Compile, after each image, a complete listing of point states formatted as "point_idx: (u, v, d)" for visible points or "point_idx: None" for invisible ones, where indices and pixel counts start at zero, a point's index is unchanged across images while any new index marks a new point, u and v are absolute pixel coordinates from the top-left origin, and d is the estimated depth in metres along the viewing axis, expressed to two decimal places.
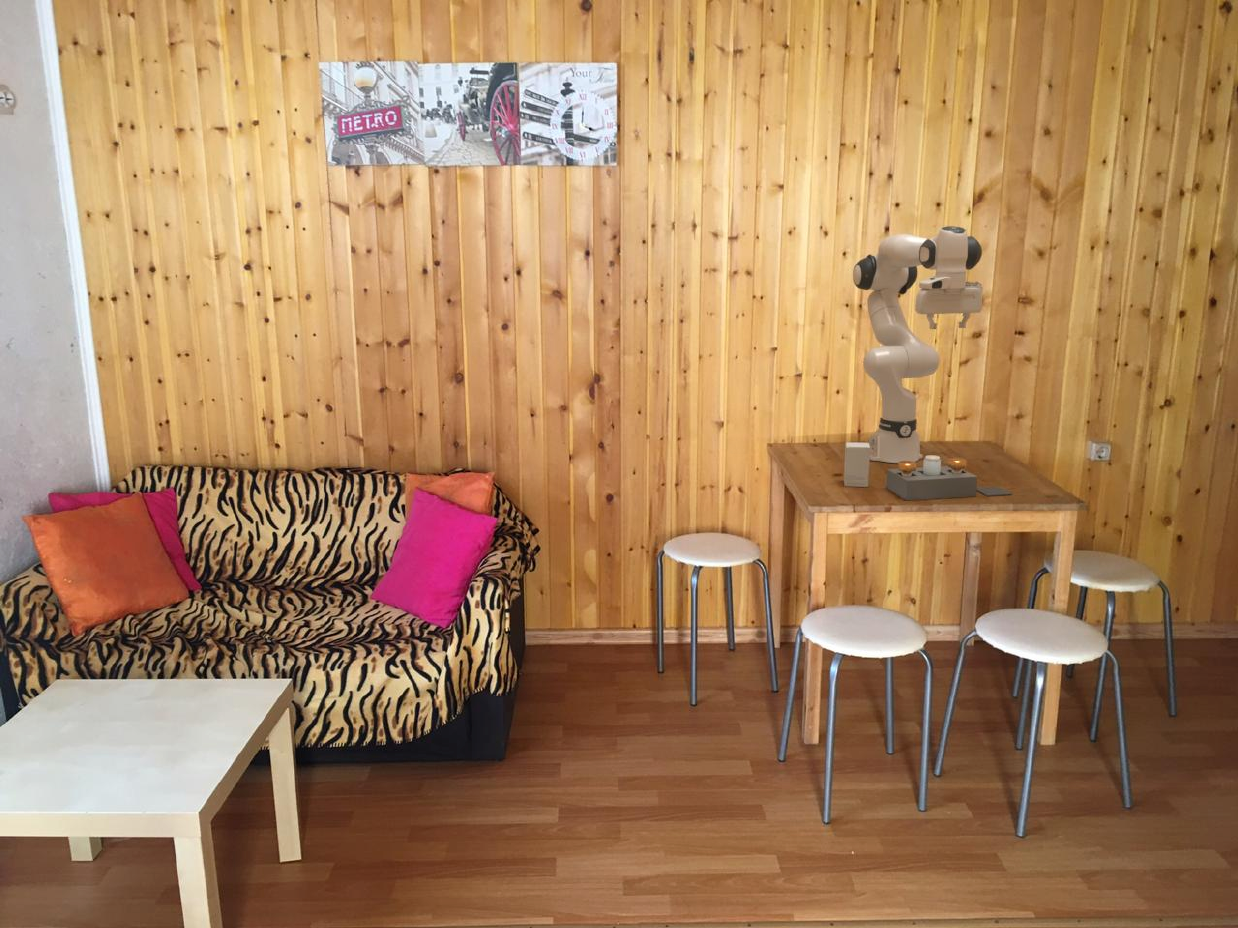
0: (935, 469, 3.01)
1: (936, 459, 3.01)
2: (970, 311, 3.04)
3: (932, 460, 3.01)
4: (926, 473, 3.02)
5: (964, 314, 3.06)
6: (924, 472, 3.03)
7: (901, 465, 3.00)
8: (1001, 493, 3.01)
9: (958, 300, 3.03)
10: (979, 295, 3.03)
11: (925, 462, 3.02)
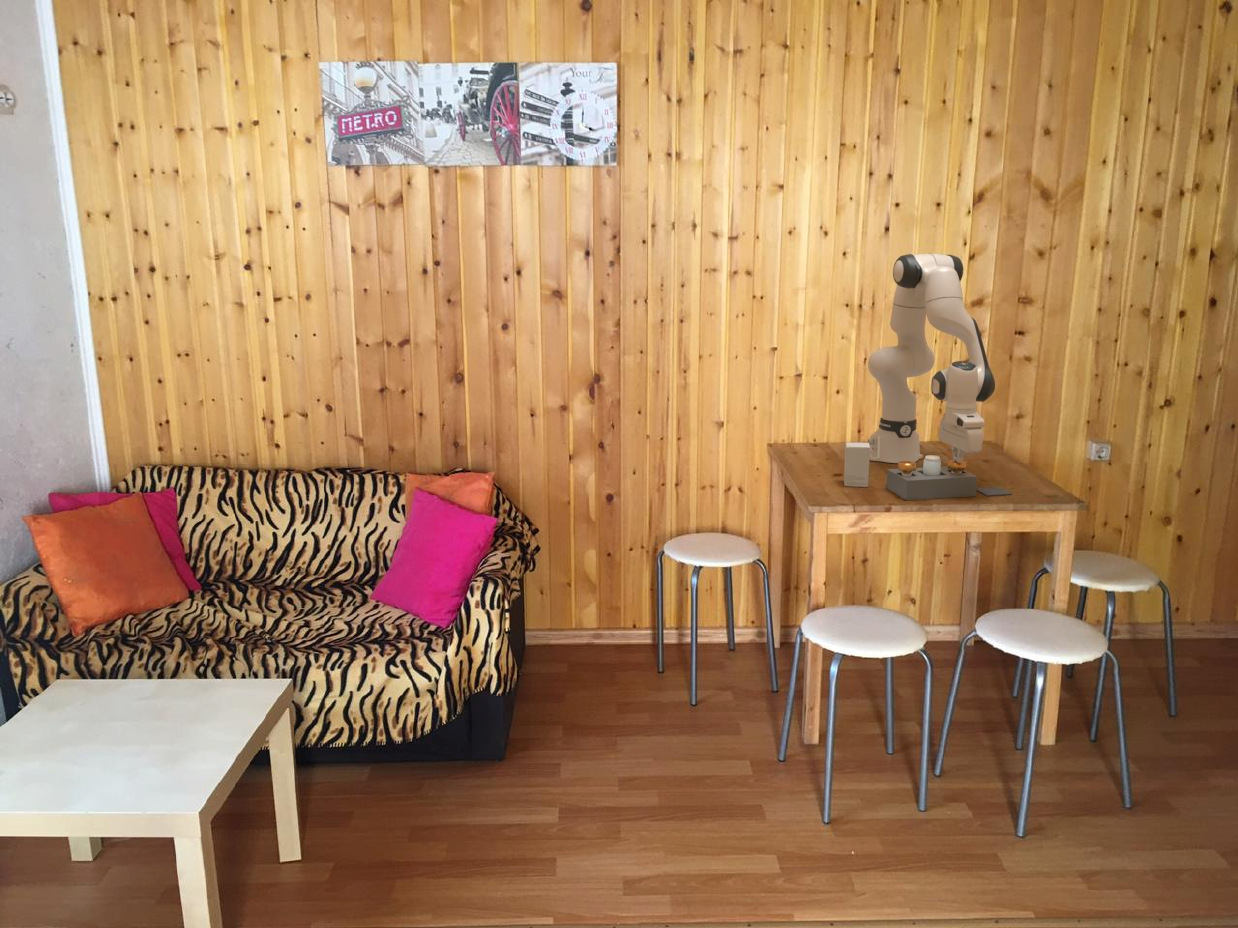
0: (935, 469, 3.01)
1: (936, 459, 3.01)
2: None
3: (932, 460, 3.01)
4: (926, 473, 3.02)
5: (957, 447, 3.04)
6: (924, 472, 3.03)
7: (901, 465, 3.00)
8: (1001, 493, 3.01)
9: None
10: None
11: (925, 462, 3.02)
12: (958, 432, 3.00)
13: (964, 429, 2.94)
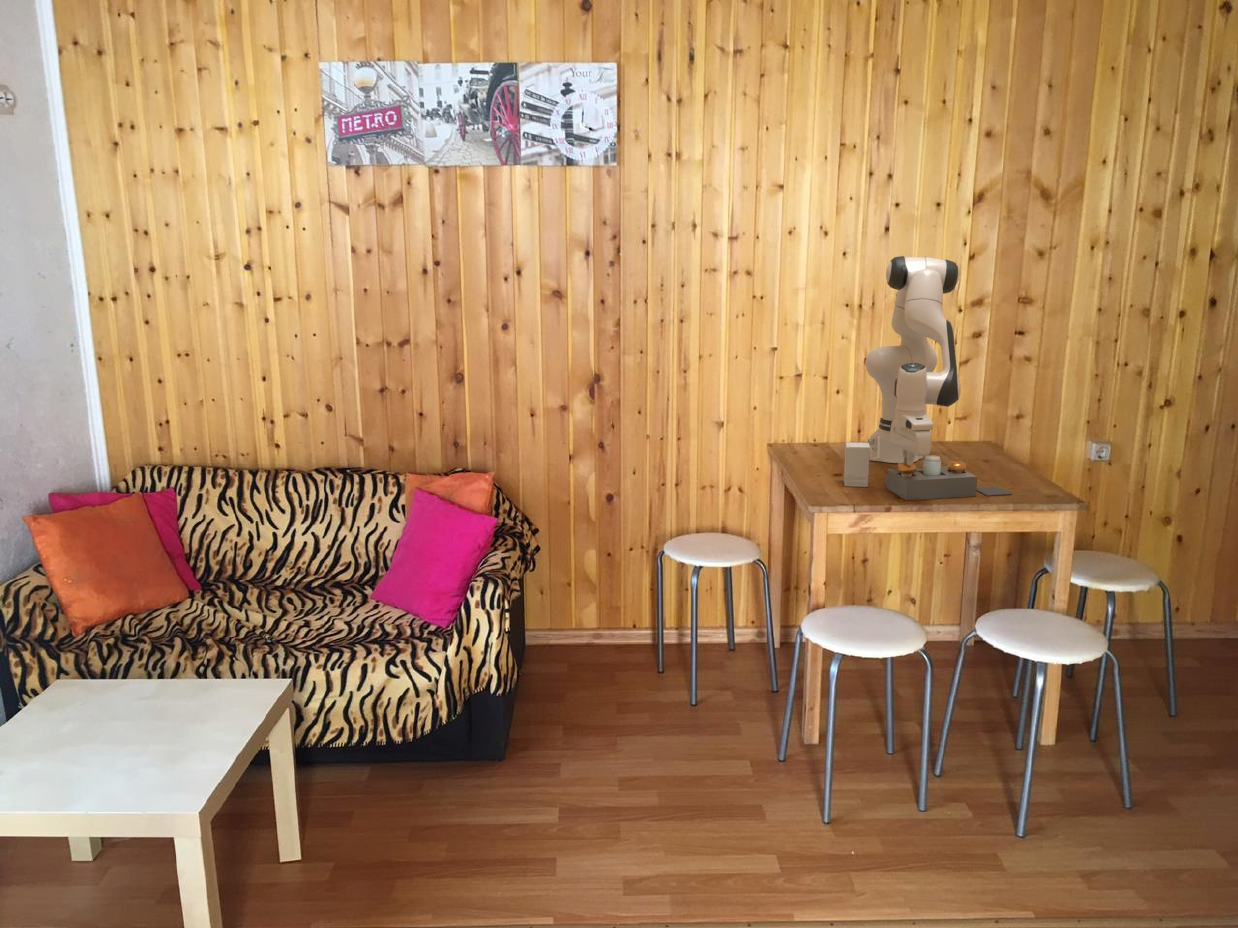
0: (935, 469, 3.01)
1: (936, 459, 3.01)
2: None
3: (932, 460, 3.01)
4: (926, 473, 3.02)
5: None
6: (924, 472, 3.03)
7: (901, 467, 3.00)
8: (1001, 493, 3.01)
9: None
10: None
11: (925, 462, 3.02)
12: (908, 434, 2.97)
13: (913, 431, 2.91)
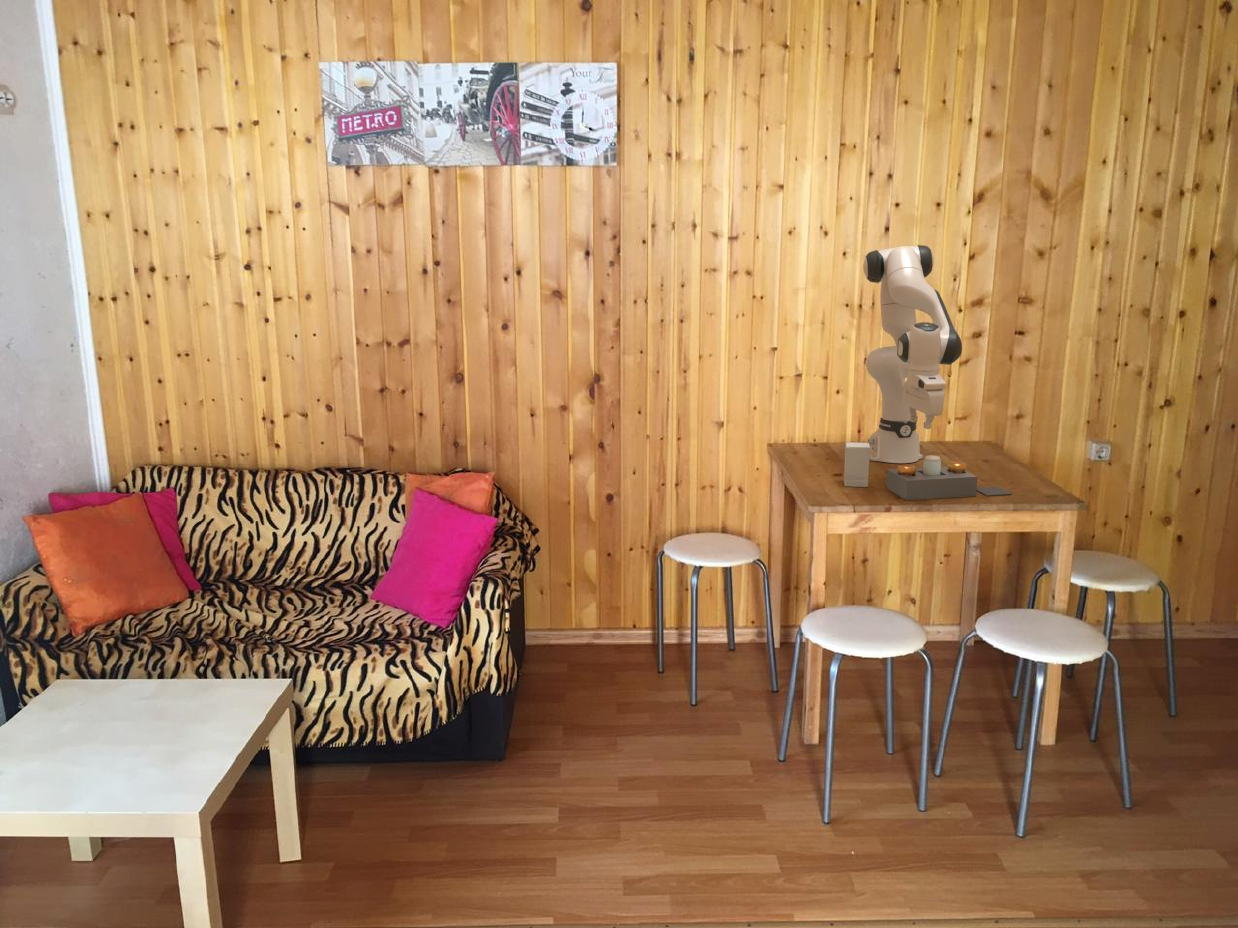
0: (935, 469, 3.01)
1: (936, 459, 3.01)
2: None
3: (932, 460, 3.01)
4: (926, 473, 3.02)
5: None
6: (924, 472, 3.03)
7: (901, 468, 3.01)
8: (1001, 493, 3.01)
9: None
10: None
11: (925, 462, 3.02)
12: (920, 394, 2.95)
13: (925, 391, 2.89)
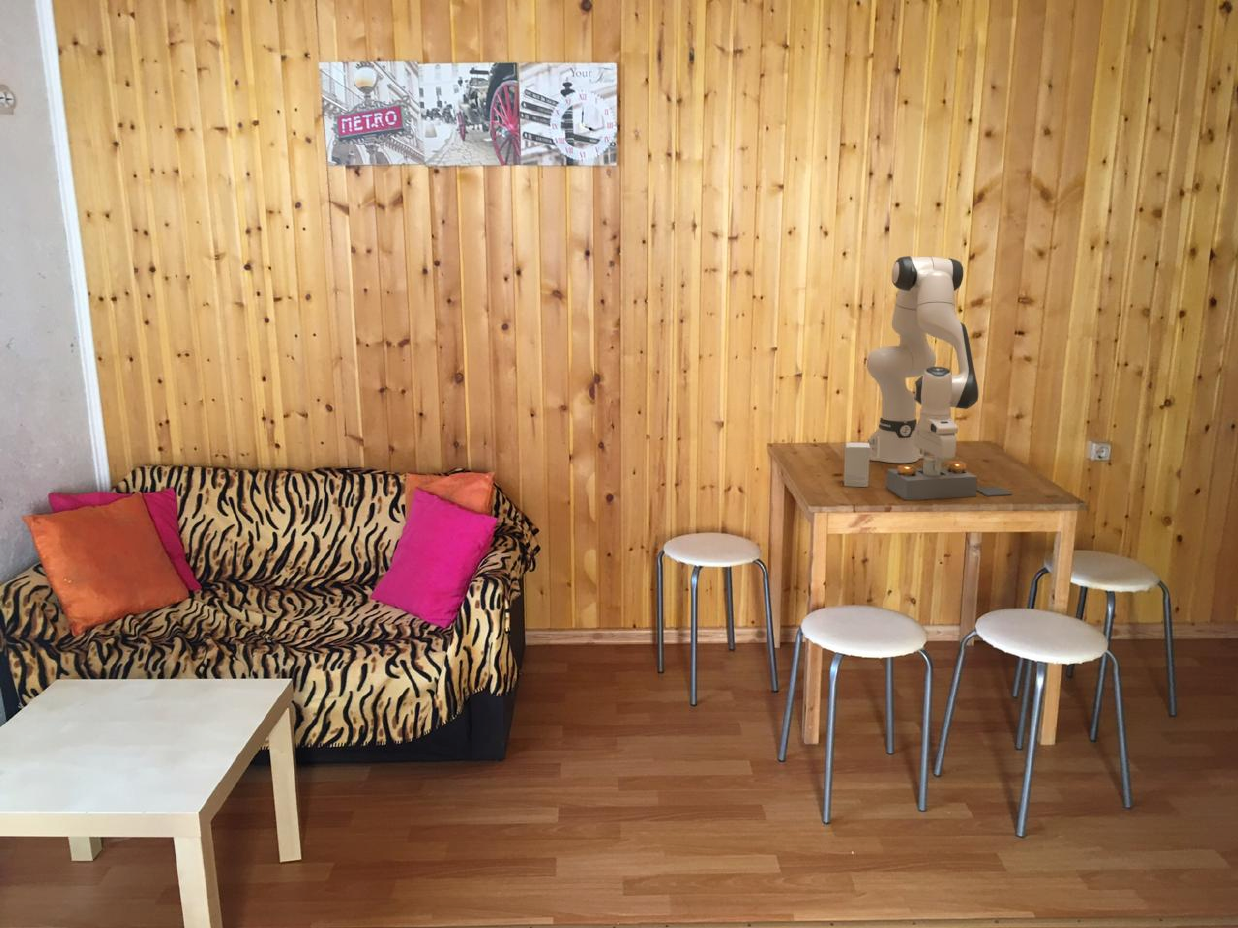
0: None
1: None
2: None
3: (932, 460, 3.01)
4: (926, 473, 3.02)
5: (927, 451, 3.06)
6: (924, 472, 3.03)
7: (901, 468, 3.01)
8: (1001, 493, 3.01)
9: None
10: None
11: (925, 462, 3.02)
12: (932, 438, 2.99)
13: (937, 435, 2.93)
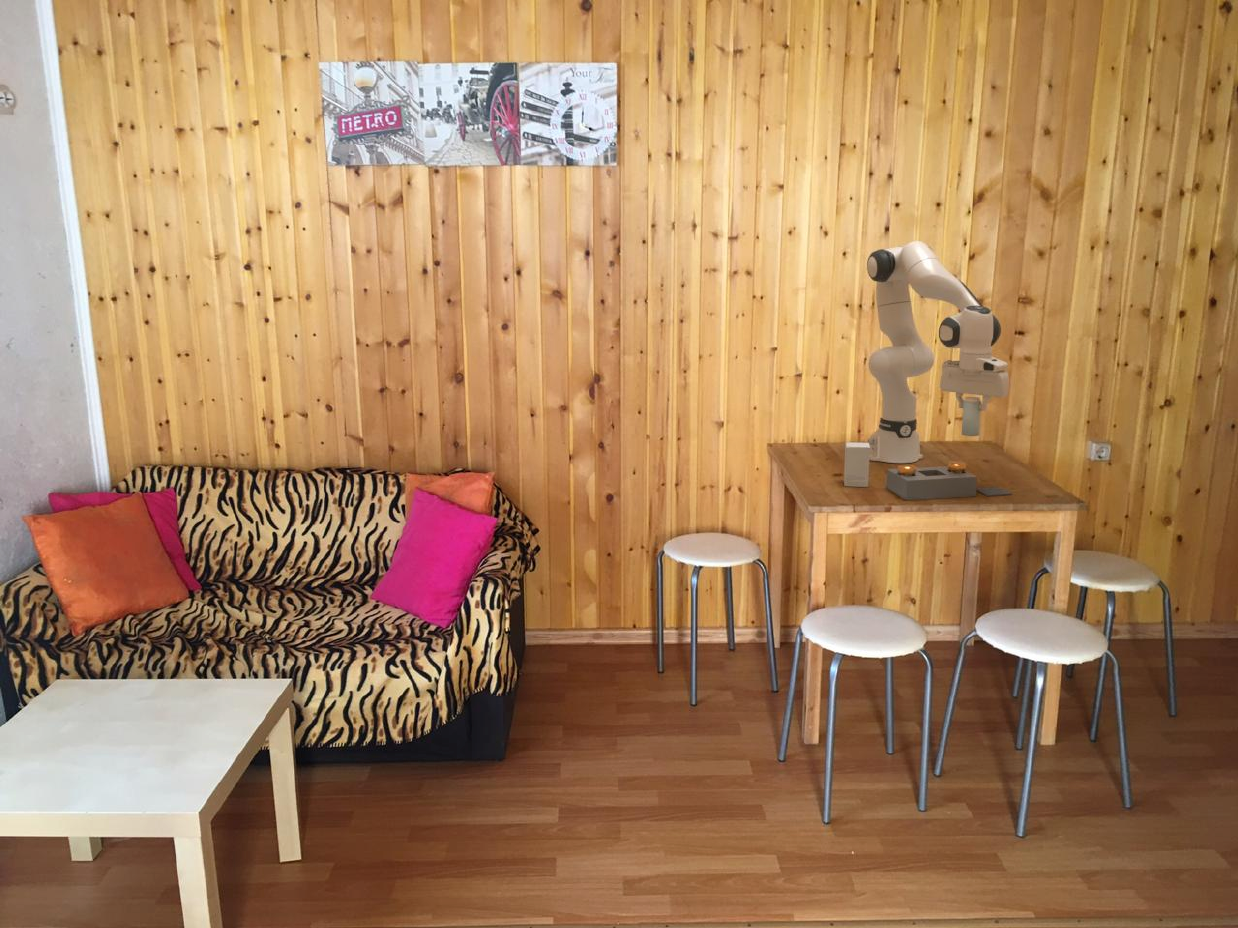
0: (979, 410, 2.96)
1: (979, 399, 2.96)
2: None
3: (976, 401, 2.96)
4: (971, 415, 2.96)
5: (961, 393, 3.00)
6: (968, 414, 2.97)
7: (901, 468, 3.01)
8: (1001, 493, 3.01)
9: None
10: None
11: (970, 403, 2.96)
12: (978, 378, 2.94)
13: (994, 373, 2.89)
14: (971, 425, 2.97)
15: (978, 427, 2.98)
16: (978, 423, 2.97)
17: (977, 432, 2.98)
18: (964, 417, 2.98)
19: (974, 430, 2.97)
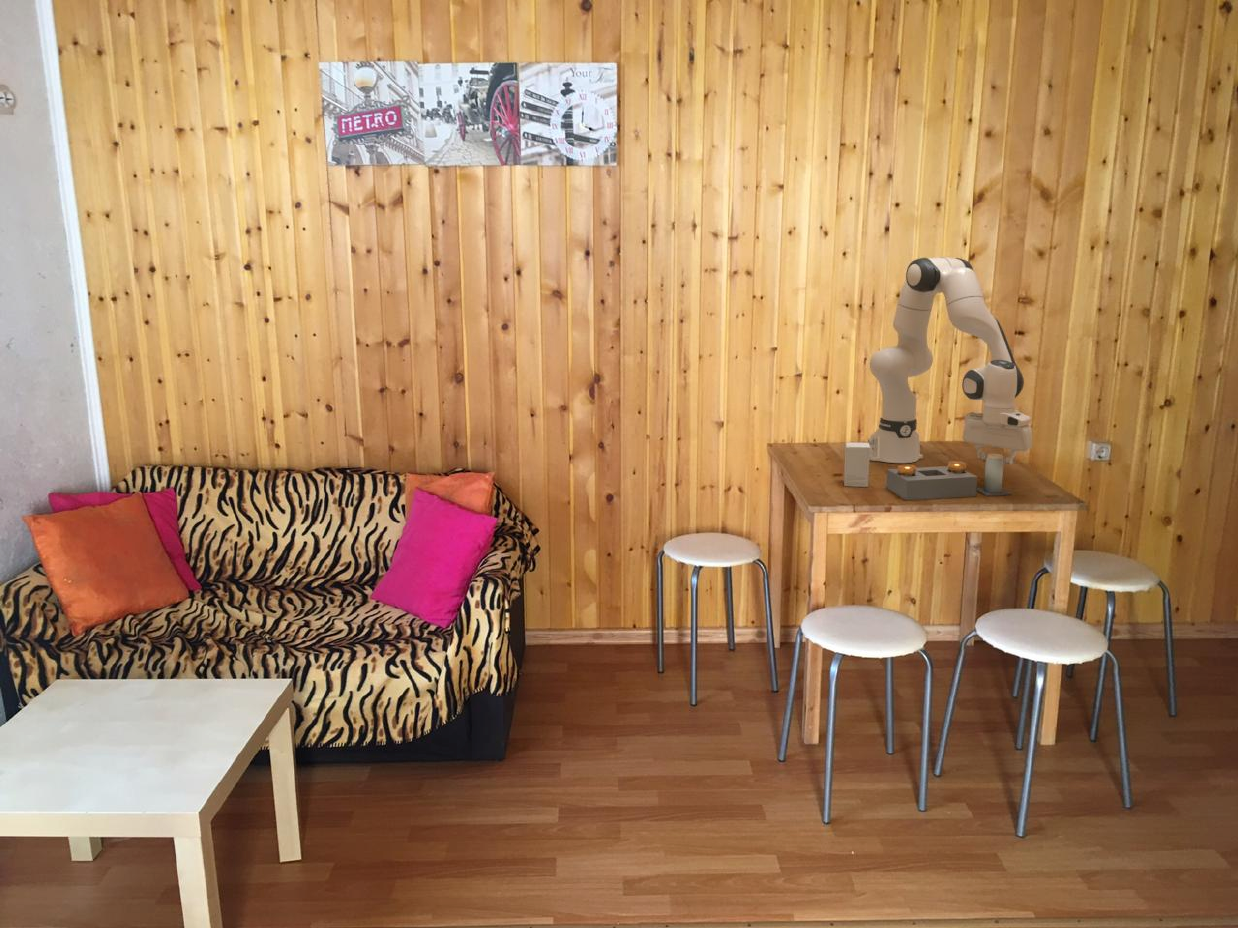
0: (1002, 467, 3.01)
1: None
2: None
3: (999, 458, 3.00)
4: (994, 472, 3.00)
5: (980, 445, 3.04)
6: (991, 471, 3.01)
7: (901, 468, 3.01)
8: (1001, 493, 3.01)
9: None
10: None
11: (993, 461, 3.00)
12: (1001, 431, 2.97)
13: (1018, 428, 2.92)
14: (994, 481, 3.01)
15: (1000, 484, 3.02)
16: (1000, 480, 3.01)
17: (999, 489, 3.02)
18: (987, 474, 3.02)
19: (997, 486, 3.01)
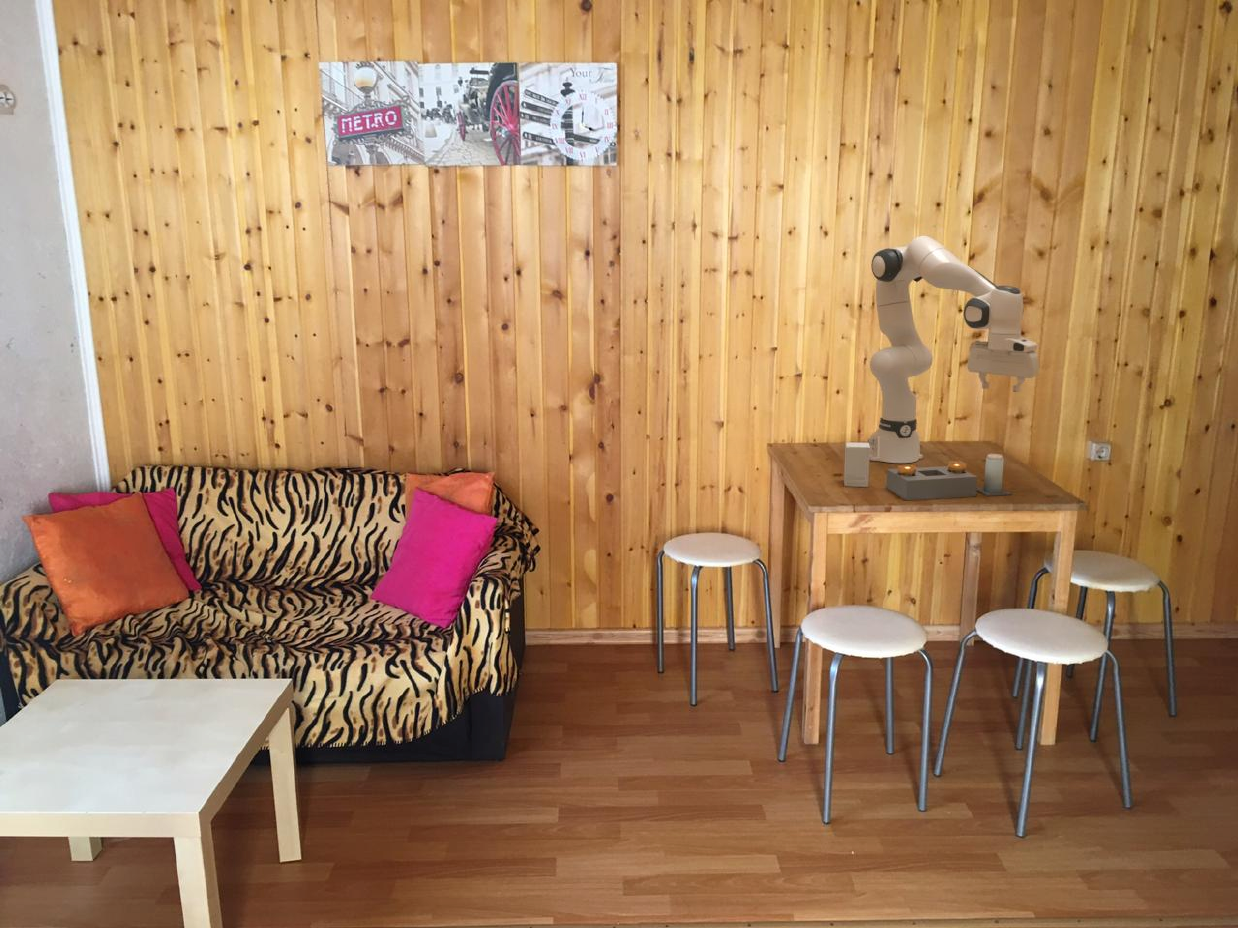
0: (1002, 467, 3.01)
1: (1002, 457, 3.00)
2: None
3: (999, 458, 3.00)
4: (994, 473, 3.00)
5: (985, 374, 2.99)
6: (991, 472, 3.01)
7: (901, 468, 3.01)
8: (1001, 493, 3.01)
9: None
10: None
11: (993, 461, 3.00)
12: (1007, 358, 2.92)
13: (1024, 353, 2.87)
14: (994, 482, 3.01)
15: (1000, 484, 3.02)
16: (1000, 480, 3.01)
17: (999, 489, 3.02)
18: (987, 474, 3.02)
19: (997, 487, 3.01)
